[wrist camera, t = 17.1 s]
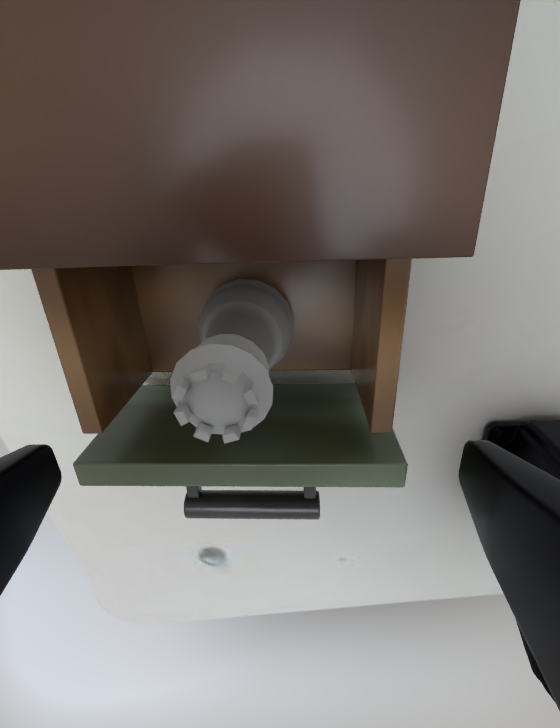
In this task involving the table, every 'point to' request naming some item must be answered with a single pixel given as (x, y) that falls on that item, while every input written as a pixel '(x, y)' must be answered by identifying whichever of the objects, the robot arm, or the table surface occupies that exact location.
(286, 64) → the cabinet
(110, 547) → the table surface
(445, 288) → the table surface
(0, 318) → the table surface
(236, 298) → the rook chess piece
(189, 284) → the drawer
